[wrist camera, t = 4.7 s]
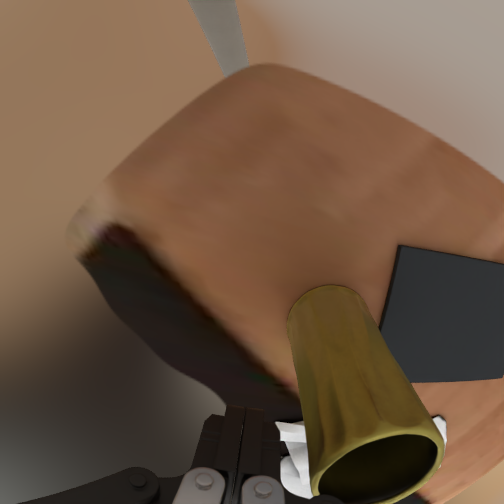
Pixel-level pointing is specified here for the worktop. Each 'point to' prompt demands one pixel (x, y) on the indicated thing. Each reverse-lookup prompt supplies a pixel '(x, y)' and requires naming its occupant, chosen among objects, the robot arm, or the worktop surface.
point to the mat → (445, 316)
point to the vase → (357, 404)
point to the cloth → (297, 462)
